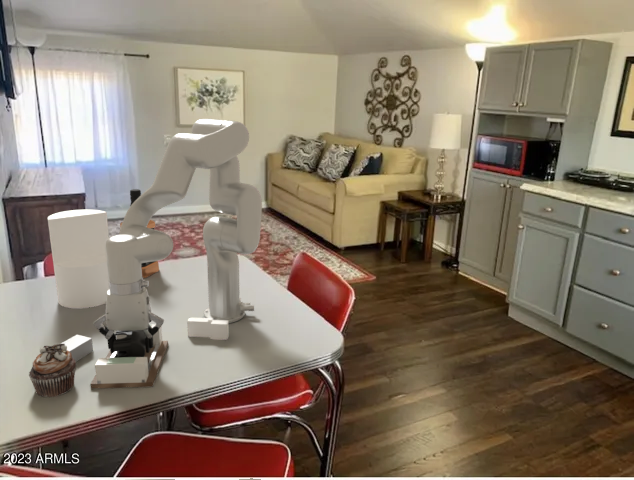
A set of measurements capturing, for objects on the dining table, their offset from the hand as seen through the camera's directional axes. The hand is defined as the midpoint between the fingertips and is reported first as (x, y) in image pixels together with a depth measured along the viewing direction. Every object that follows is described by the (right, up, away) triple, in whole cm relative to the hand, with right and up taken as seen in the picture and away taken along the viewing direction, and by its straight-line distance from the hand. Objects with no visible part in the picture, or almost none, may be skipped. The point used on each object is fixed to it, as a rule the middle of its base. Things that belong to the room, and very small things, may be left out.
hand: (131, 350), depth 122 cm
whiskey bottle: (-20, +15, +63) cm, 67 cm away
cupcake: (-14, -7, -9) cm, 18 cm away
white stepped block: (+16, -1, +17) cm, 23 cm away
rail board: (0, -4, +1) cm, 4 cm away
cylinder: (-30, +8, +39) cm, 50 cm away
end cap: (0, -2, +1) cm, 2 cm away
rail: (0, -3, +1) cm, 3 cm away
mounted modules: (0, -3, +1) cm, 3 cm away
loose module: (-17, -3, +4) cm, 17 cm away
